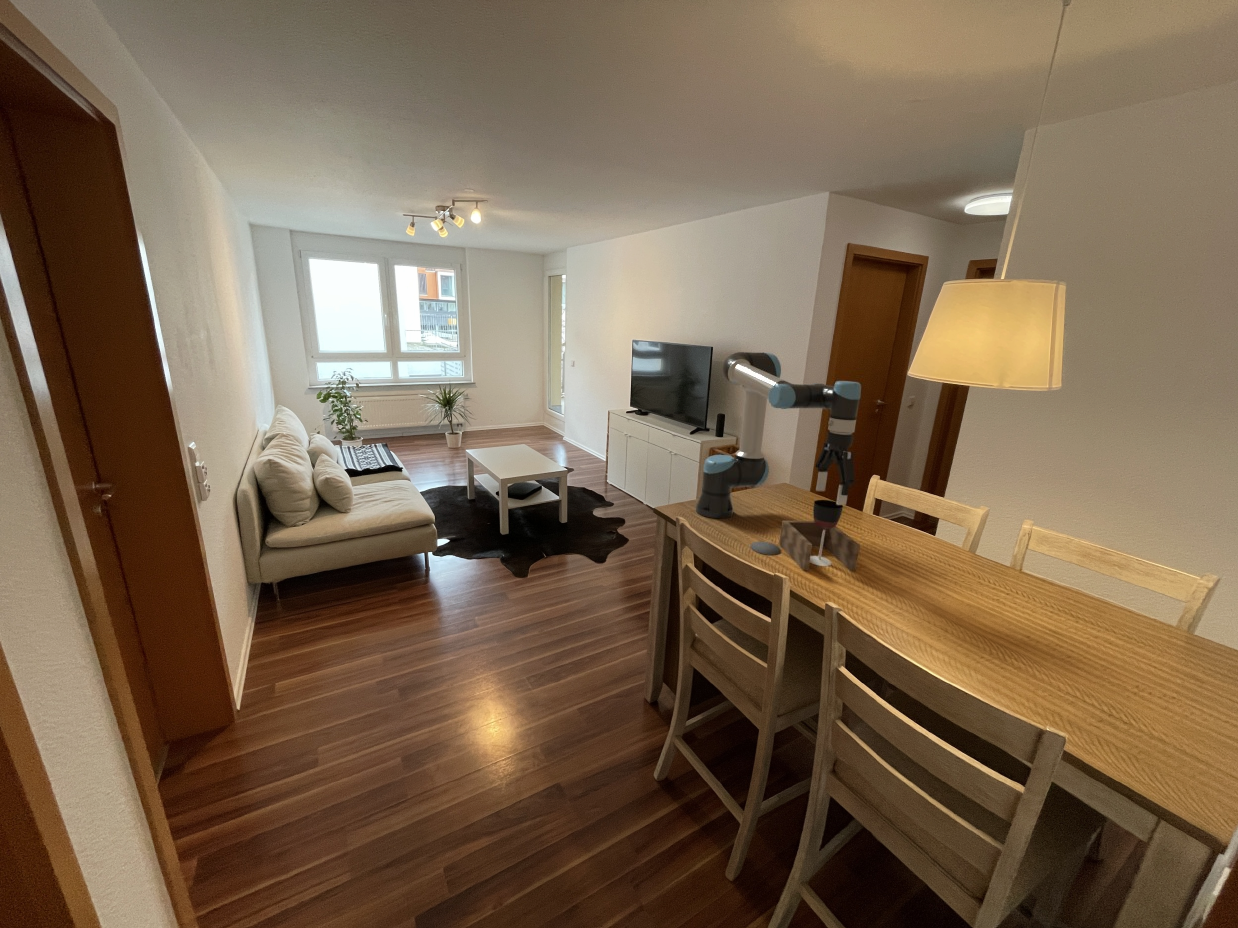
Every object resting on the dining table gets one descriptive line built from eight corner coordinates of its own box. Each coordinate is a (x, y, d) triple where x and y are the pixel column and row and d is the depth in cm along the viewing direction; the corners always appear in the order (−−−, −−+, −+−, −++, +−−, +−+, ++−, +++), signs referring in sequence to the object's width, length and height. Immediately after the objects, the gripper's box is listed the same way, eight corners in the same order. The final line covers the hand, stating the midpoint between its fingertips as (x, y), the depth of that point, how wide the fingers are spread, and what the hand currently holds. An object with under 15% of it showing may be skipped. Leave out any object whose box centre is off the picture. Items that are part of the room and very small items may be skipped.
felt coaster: (746, 542, 176) (746, 541, 176) (774, 542, 177) (774, 541, 176) (756, 554, 166) (756, 553, 166) (785, 555, 167) (785, 554, 167)
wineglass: (837, 566, 160) (847, 509, 155) (810, 565, 160) (819, 507, 155) (827, 556, 168) (837, 500, 162) (801, 554, 168) (810, 499, 163)
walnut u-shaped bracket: (779, 544, 176) (782, 520, 173) (825, 544, 177) (829, 521, 175) (803, 570, 156) (807, 544, 154) (855, 571, 158) (860, 545, 155)
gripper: (810, 424, 164) (802, 485, 169) (850, 440, 140) (838, 510, 145) (832, 425, 165) (823, 485, 170) (875, 441, 141) (862, 511, 146)
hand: (830, 497), depth 158 cm, fingers open, 13 cm apart
